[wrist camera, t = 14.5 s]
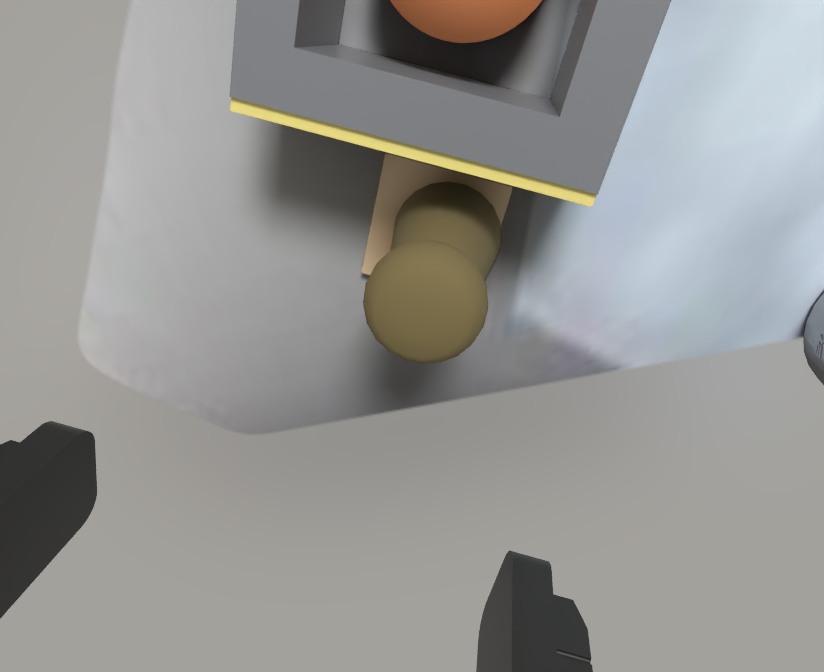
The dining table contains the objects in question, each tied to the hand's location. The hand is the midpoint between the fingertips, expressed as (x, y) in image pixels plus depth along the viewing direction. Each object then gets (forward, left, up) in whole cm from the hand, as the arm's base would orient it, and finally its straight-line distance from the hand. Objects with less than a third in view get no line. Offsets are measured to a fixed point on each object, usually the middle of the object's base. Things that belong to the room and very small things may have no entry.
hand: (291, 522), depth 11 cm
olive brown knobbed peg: (-1, +2, -24) cm, 24 cm away
